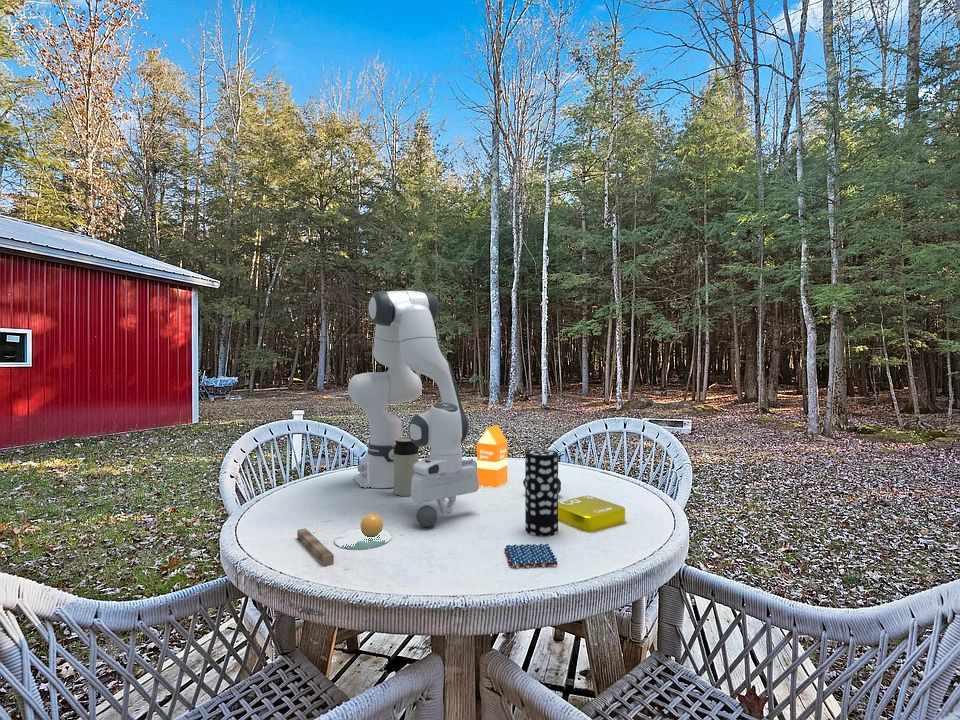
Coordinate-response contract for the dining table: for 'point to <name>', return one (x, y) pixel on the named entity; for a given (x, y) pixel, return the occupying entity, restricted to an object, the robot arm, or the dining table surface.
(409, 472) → the travel mug
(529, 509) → the spotted tube
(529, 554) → the woven mat
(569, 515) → the element tile
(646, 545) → the dining table surface
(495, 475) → the orange juice
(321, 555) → the brown wooden bar
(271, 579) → the dining table surface
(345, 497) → the dining table surface
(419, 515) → the dark grey round ball
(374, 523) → the orange ball
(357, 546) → the teal flat disc
